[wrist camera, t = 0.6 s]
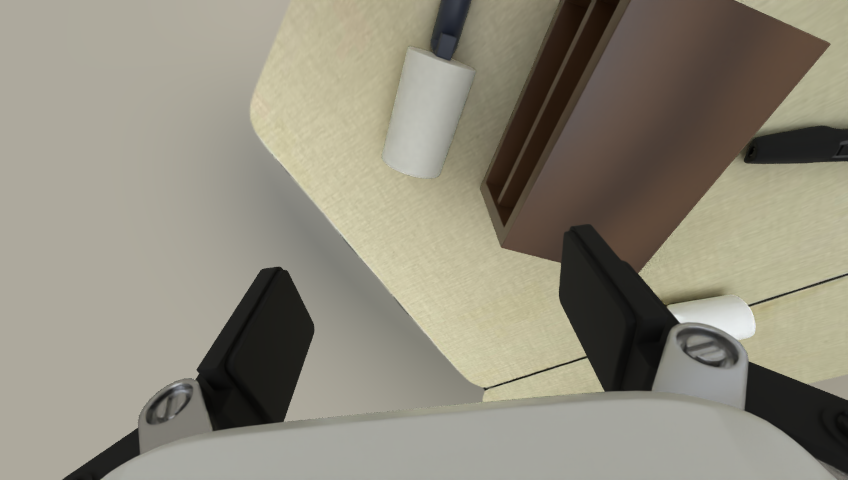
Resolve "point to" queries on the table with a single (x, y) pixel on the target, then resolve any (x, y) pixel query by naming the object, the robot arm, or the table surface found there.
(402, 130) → the lint roller
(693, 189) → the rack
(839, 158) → the electric trimmer
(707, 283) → the table surface
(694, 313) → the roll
